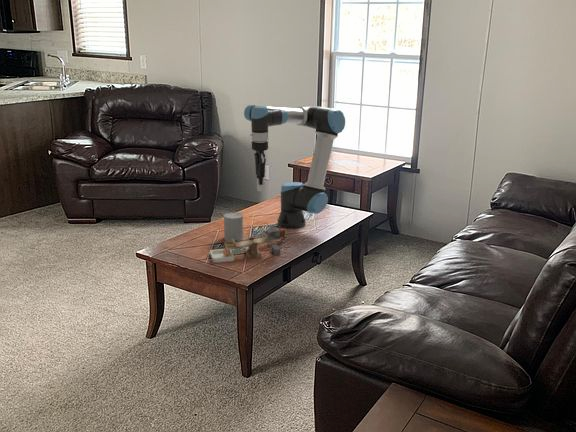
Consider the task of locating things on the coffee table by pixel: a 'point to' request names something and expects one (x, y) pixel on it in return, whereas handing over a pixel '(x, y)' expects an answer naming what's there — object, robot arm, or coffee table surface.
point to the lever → (255, 240)
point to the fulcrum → (253, 250)
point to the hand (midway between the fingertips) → (260, 190)
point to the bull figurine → (281, 232)
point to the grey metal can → (233, 226)
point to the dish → (221, 256)
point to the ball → (226, 252)
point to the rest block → (275, 249)
